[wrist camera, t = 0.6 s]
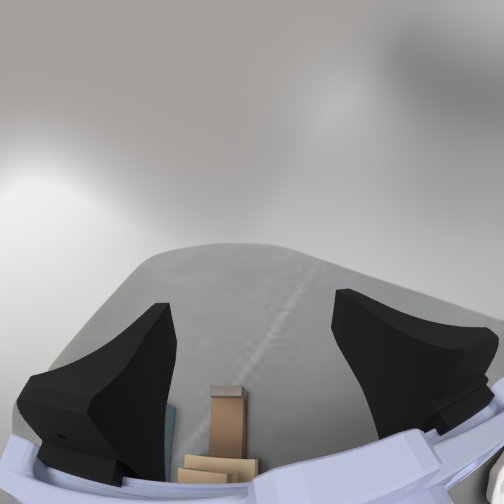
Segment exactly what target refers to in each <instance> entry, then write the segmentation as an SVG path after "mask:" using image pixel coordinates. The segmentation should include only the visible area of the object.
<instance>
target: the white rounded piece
mask: <svg viewBox="0 0 504 504" xmlns="http://www.w3.org/2000/svg"><path fill="white" fill-rule="evenodd" d="M486 497H487V500H488V501H489V502H490V504H504V451H503V453H502V454H501V456H500V457H499V459H498V460H497V462H496V463H495V465H494V466H493V467H492V469H491V471H490V474H489V482H488V487H487V493H486Z"/></svg>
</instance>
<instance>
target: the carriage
mask: <svg viewBox="0 0 504 504" xmlns="http://www.w3.org/2000/svg"><path fill="white" fill-rule="evenodd" d="M256 476H258V459H229V458H215V457H206V456H197V455H188V454H185V463H184V468H178V481H177V483H185V484H228V483H245V482H252V481H253V479H254V478H255V477H256Z"/></svg>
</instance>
